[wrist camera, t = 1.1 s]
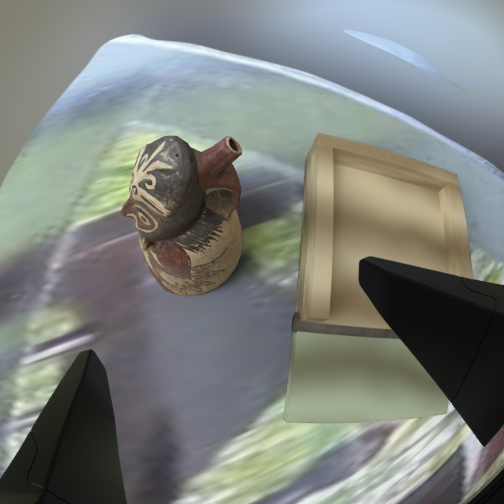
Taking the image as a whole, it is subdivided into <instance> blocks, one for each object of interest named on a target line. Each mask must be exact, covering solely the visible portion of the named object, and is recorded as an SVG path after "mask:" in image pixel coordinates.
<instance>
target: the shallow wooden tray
mask: <svg viewBox="0 0 504 504" xmlns="http://www.w3.org/2000/svg"><path fill="white" fill-rule="evenodd" d="M368 256H373V257H378V258H382V259H387V260H391V261H396V262H400V263H405V264H409V265H414V266H418V267H422V268H427V269H431V270H435V271H440V272H444V273H448V274H453V275H457V276H459V277H460V276H461V277H465V278H470V279H473V276H472V265H471V255H470V246H469V238H468V231H467V224H466V218H465V212H464V207H463V201H462V196H461V191H460V186H459V182H458V177H457V174H454V173H452V172H449V171H446V170H444V169H441V168H438V167H435V166H432V165H430V164H427V163H424V162H421V161H418V160H415V159H412V158H409V157H406V156H402V155H399V154H396V153H393V152H389V151H386V150H383V149H379V148H376V147H372V146H369V145H365V144H361V143H358V142H354V141H350V140H346V139H342V138H338V137H334V136H330V135H325V134H321V133H318V134H317V136H316V138H315V140H314V143H313V145H312V147H311V149H310V151H309V153H308V156H307V158H306V160H305V176H304V197H303V215H302V231H301V246H300V260H299V273H298V286H297V298H296V309H295V314H294V316H293V320H292V332H293V340H292V349H291V359H290V368H289V376H288V385H287V393H286V401H285V409H284V417H283V419H284V420H285V421H286V422H289V423H361V422H379V421H392V420H403V419H412V418H421V417H429V416H436V415H443V414H447V408H448V398H447V397H446V396H445V394H444V393H443V392H442V391H441V389H440V388H439V387H438V385H437V384H436V383H435V382H434V380H433V379H432V378H431V377H430V375H429V374H428V373H427V372H426V370H425V369H424V368H423V367H422V365H421V364H420V363H419V362H418V360H417V359H416V358H415V357H414V355H413V354H412V353H411V352H410V351H409V349H408V348H407V347H406V346H405V345H404V343H403V342H402V341H401V340H400V339H399V337H398V336H397V335H396V334H395V333H394V331H393V330H392V329H391V328H390V327H389V325H388V324H387V323H386V322H385V321H384V319H383V318H382V317H381V315H380V314H379V313H378V311H377V310H376V308H375V307H374V305H373V304H372V302H371V301H370V299H369V298H368V297H367V295H366V294H365V292H364V291H363V289H362V288H361V286H360V284H359V281H358V274H359V261H360V260H361V259H363V258H365V257H368Z"/></svg>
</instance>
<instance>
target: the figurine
mask: <svg viewBox="0 0 504 504" xmlns="http://www.w3.org/2000/svg"><path fill="white" fill-rule="evenodd" d="M241 154H242V149H241V147H240V145H239V144H238V143H237V142H236V141H235V140H234V139H233V138H232V137H229V136H227V137H225V138H224V139H222V140H221V141H220V142H218V143H217V144H215V145H214V146H212V147H211V148H209V149H207V150H205V151H202V152H200V151H197V150H195V149H193V148H191V147H190V146H189V144H188V143H187V142H185V141H184V140H182V139H181V138H179V137H177V136H164V137H162V138H160V139H158V140H156V141H154V142H152V143H151V144H147V145H145V146H144V147H142V148H141V150H140V152H139V154H138V157H137V160H136V163H135V166H134V170H133V173H132V177H131V182H130V188H129V190H130V198H129V199H128V200H127V201H126V203H125V204H124V205H123V208H122V211H121V213H122V215H123V216H127V217H129V218H131V219H132V220H133V221H134V223H135V225H136V227H137V230H138V232H139V241H140V246H141V248H142V249H143V258H144V261H145V264H146V266H147V267H148V269H149V271H150V272H151V274H152V275H153V276H154V277H155V279H156V280H157V282H158V283H159V284H160V285H161V287H162V288H163V289H164V290H165V291H168V292H170V293H174V294H177V295H184V296H193V295H201V294H204V293H208V292H210V291H211V290H213V289H215V288H218V287H219V286H220V285H221V284H223V283H224V282H225V281H226V280H227V279H228V278H229V276H230V275H231V274H232V273H233V271H234V270H235V268H236V266H237V264H238V261H239V259H240V257H241V250H242V229H241V225H240V221H239V217H238V214H237V211H236V207H237V206H238V204H239V202H240V195H241V186H240V182H239V178H238V175H237V173H236V170H235V168H234V166H233V164H232V162H233V161H235V160H236V159H237V158H238V157H239V156H240V155H241Z"/></svg>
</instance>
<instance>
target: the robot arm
mask: <svg viewBox="0 0 504 504" xmlns="http://www.w3.org/2000/svg"><path fill="white" fill-rule="evenodd" d="M358 281H359V284H360V286H361V288H362V289H363V291H364V292H365V294H366V295H367V297H368V298H369V299H370V301H371V302H372V304H373V305H374V307H375V308H376V310H377V311H378V313H379V314H380V315H381V317H382V318H383V319H384V321H385V322H386V323H387V324H388V325H389V327H390V328H391V329H392V330H393V331H394V333H395V334H396V335H397V336H398V337H399V339H400V340H401V341H402V342H403V343H404V345H405V346H406V347H407V348H408V349H409V351H410V352H411V353H412V354H413V355H414V357H415V358H416V359H417V360H418V362H419V363H420V364H421V365H422V367H423V368H424V369H425V370H426V372H427V373H428V374H429V375H430V377H431V378H432V379H433V380H434V382H435V383H436V384H437V385H438V387H439V388H440V389H441V391H442V392H443V393H444V394H445V396H446V397H447V398H448V400H449V401H450V402H451V403H452V405H453V406H454V408H455V409H456V410H457V412H458V413H459V414H460V416H461V417H462V418H463V420H464V421H465V422H466V424H467V425H468V426H469V428H470V429H471V430H472V432H473V433H474V434H475V436H476V437H477V439H478V440H479V441H480V443H481V444H482V445H483V446H484V447H485V446H486V445H487V444H488V443H489V442H490V441H491V440H492V439H493V438H494V437H495V436H496V435H497V434H498V433H499V432H500V431H501V430H502V429H503V428H504V285H501V284H495V283H489V282H484V281H479V280H474V279H470V278H465V277H461V276H460V277H459V276H457V275H453V274H448V273H444V272H440V271H435V270H431V269H427V268H422V267H418V266H414V265H409V264H405V263H400V262H396V261H391V260H387V259H382V258H378V257H373V256H368V257H365V258H363V259H361V260H360V261H359V274H358ZM31 431H32V432H31ZM31 431H30V432H29V434H28V436H27V437H26V439H25V441H24V442H23V444H22V446H21V447H20V449H19V451H18V452H17V454H16V456H15V457H14V459H13V460H12V462H11V463H10V465H9V466H8V468H7V469H6V471H5V472H4V474H3V475H2V477H1V478H0V504H127V500H126V495H125V489H124V484H123V478H122V472H121V466H120V459H119V452H118V444H117V436H116V426H115V417H114V411H113V406H112V401H111V395H110V390H109V384H108V379H107V373H106V370H105V367H104V366H103V364H102V363H101V361H100V360H99V358H98V357H97V355H96V353H95V352H94V351H93V350H91V349H89V350H85V351H82V352H80V353H79V355H78V356H77V357H76V359H75V360H74V362H73V363H72V365H71V366H70V368H69V369H68V371H67V372H66V374H65V376H64V377H63V379H62V380H61V382H60V383H59V385H58V386H57V388H56V389H55V391H54V393H53V394H52V396H51V397H50V399H49V401H48V402H47V404H46V405H45V407H44V409H43V410H42V412H41V414H40V415H39V417H38V419H37V420H36V422H35V424H34V425H33V427H32V429H31ZM463 504H504V465H503V466H502V467H501V468H500V469H499V470H498V471H497V472H496V473H495V474H494V475H493V476H492V477H491V478H490V479H489V480H488V481H487V482H486V483H485V484H484V485H483V486H482V487H481V488H480V489H479V490H478V491H477V492H475V493H474V494H473V495H472V496H471V497H470V498H469V499H468V500H466V501H465V502H464V503H463Z"/></svg>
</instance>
